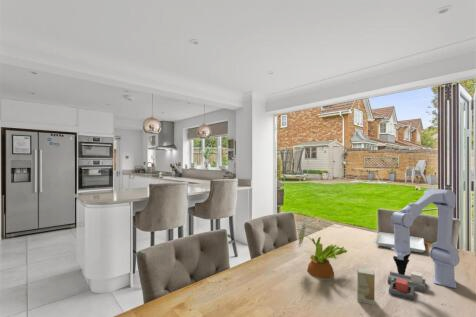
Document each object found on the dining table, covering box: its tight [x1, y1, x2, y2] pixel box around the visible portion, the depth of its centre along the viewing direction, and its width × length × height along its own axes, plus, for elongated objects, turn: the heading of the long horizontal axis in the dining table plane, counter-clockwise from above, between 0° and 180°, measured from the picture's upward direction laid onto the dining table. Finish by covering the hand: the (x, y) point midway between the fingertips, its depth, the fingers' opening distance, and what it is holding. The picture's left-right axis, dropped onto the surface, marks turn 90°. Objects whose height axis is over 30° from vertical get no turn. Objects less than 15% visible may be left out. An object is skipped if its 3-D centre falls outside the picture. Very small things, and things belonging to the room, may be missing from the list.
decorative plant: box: [297, 223, 348, 279], centre depth 128 cm, size 27×24×25 cm
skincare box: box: [356, 267, 376, 305], centre depth 103 cm, size 6×4×12 cm
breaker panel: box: [387, 270, 426, 293], centre depth 117 cm, size 10×14×2 cm
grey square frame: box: [388, 281, 415, 301], centre depth 109 cm, size 8×8×2 cm
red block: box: [395, 278, 409, 293], centre depth 108 cm, size 4×4×5 cm
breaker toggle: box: [410, 270, 423, 284], centre depth 114 cm, size 4×4×4 cm
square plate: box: [374, 231, 427, 254], centre depth 169 cm, size 27×27×4 cm
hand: (402, 271), depth 109 cm, fingers open, 7 cm apart
